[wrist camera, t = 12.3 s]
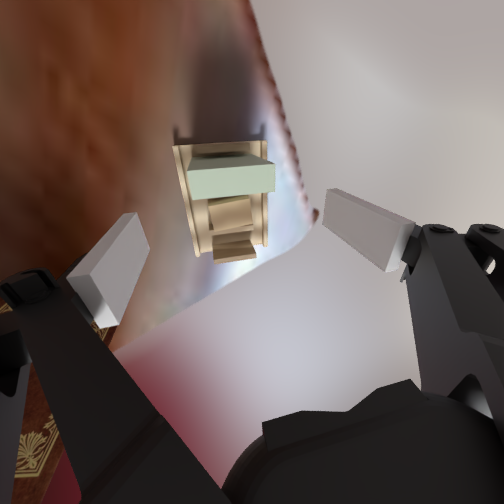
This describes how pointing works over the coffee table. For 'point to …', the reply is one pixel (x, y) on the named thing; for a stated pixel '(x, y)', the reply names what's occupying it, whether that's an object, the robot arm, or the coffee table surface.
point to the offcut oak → (230, 212)
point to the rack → (204, 238)
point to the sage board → (230, 176)
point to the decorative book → (39, 435)
